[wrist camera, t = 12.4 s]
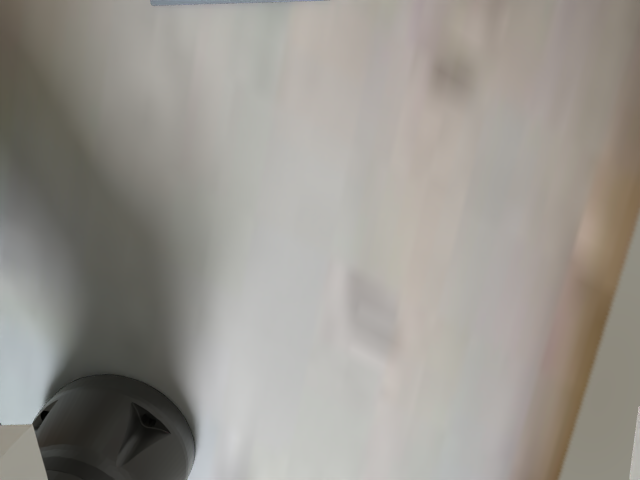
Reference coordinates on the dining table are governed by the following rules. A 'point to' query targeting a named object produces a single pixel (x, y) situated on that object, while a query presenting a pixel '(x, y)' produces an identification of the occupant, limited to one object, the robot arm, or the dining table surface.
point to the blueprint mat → (213, 1)
